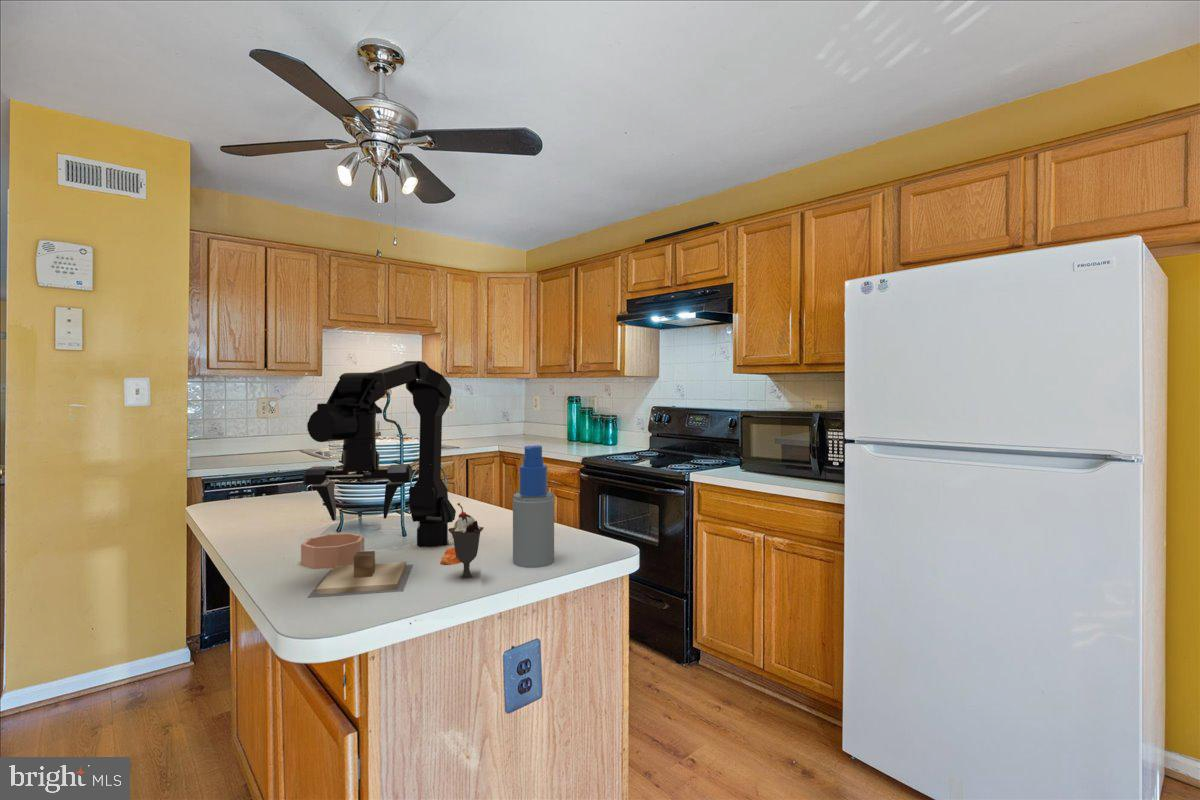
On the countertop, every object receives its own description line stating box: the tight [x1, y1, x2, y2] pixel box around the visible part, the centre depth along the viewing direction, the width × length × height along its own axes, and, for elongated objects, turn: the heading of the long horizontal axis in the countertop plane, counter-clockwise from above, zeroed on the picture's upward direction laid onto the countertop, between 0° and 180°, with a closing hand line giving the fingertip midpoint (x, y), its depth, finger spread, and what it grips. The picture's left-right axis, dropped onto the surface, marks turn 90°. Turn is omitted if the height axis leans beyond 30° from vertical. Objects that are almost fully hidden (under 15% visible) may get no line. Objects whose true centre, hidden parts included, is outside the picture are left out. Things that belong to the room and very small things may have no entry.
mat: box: [306, 564, 414, 599], centre depth 110 cm, size 16×16×1 cm
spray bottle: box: [512, 444, 555, 568], centre depth 124 cm, size 9×9×25 cm
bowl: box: [300, 532, 365, 570], centre depth 123 cm, size 12×12×5 cm
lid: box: [316, 550, 407, 595], centre depth 110 cm, size 14×14×5 cm
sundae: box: [448, 502, 485, 579], centre depth 112 cm, size 7×7×15 cm
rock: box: [439, 547, 462, 566], centre depth 123 cm, size 12×12×4 cm
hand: (359, 519), depth 110 cm, fingers open, 9 cm apart
